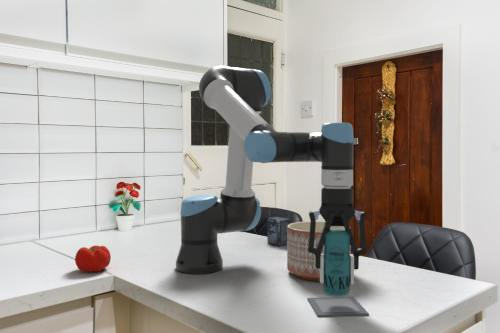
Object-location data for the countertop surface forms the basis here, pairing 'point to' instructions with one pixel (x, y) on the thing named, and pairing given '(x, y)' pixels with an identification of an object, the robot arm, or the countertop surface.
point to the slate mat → (337, 306)
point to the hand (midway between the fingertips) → (336, 281)
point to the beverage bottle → (337, 260)
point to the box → (277, 231)
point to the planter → (304, 249)
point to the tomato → (92, 258)
